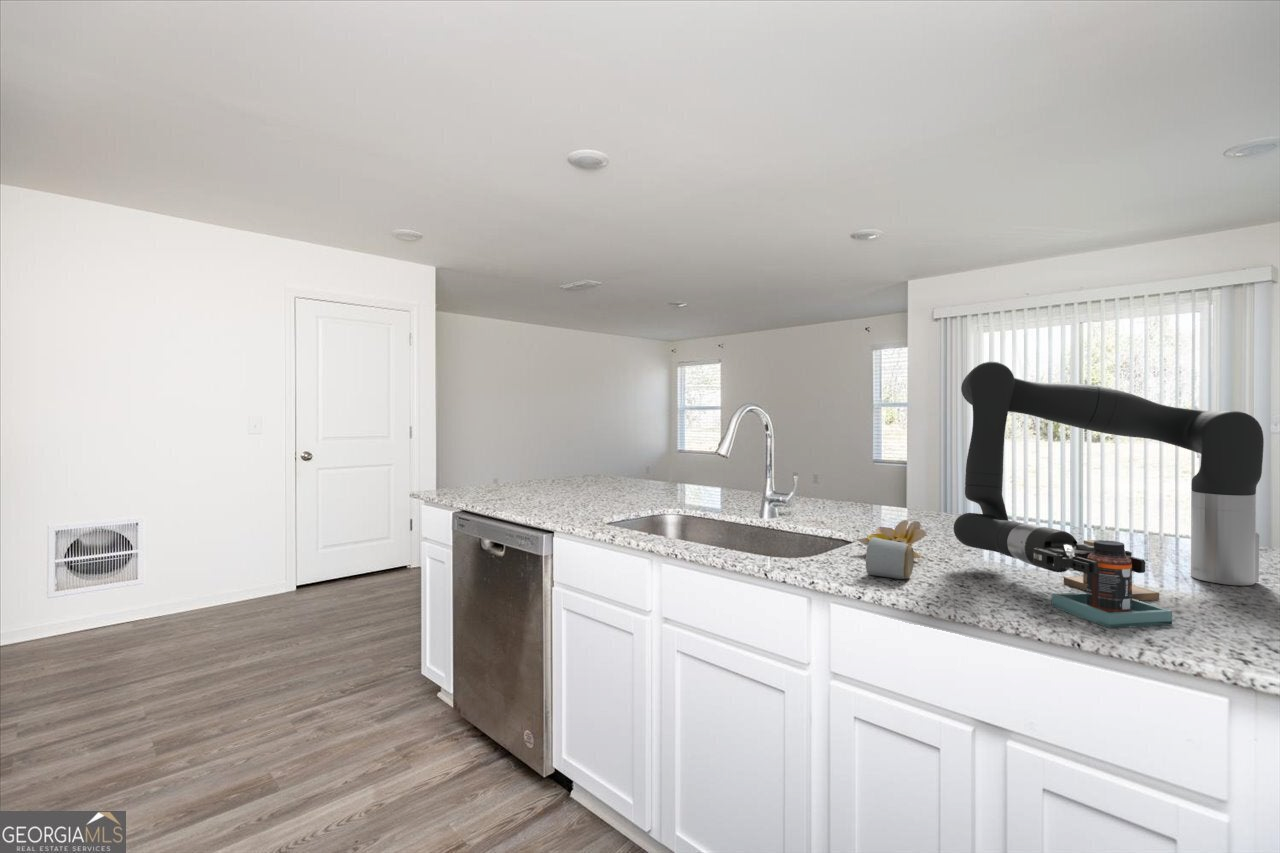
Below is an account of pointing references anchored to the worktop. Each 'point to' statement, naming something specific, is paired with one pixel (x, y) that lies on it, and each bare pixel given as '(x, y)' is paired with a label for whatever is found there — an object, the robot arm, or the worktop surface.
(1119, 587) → the supplement bottle
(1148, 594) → the wooden stand
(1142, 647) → the worktop surface
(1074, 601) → the tray
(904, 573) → the ceramic mug
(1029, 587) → the worktop surface
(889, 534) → the decorative flower
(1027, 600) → the worktop surface
